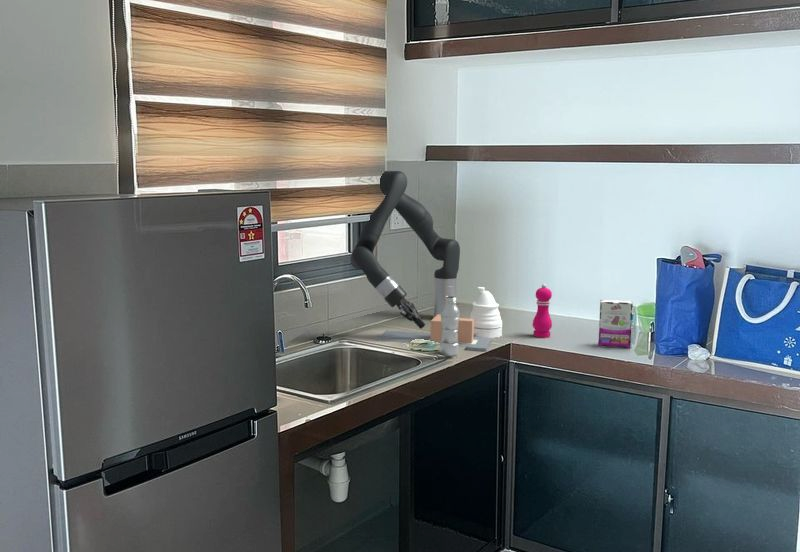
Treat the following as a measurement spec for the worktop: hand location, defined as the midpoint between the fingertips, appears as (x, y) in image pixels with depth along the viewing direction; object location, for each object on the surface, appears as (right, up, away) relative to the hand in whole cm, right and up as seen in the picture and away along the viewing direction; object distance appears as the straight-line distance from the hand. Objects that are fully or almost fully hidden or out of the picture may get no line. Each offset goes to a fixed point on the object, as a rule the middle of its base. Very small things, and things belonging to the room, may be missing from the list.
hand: (423, 326), depth 276 cm
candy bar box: (+68, -7, -1) cm, 69 cm away
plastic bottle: (+8, -9, -20) cm, 23 cm away
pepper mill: (+45, -4, +12) cm, 47 cm away
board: (+4, -5, 0) cm, 7 cm away
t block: (+11, -5, -2) cm, 12 cm away
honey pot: (+24, -4, +14) cm, 28 cm away
